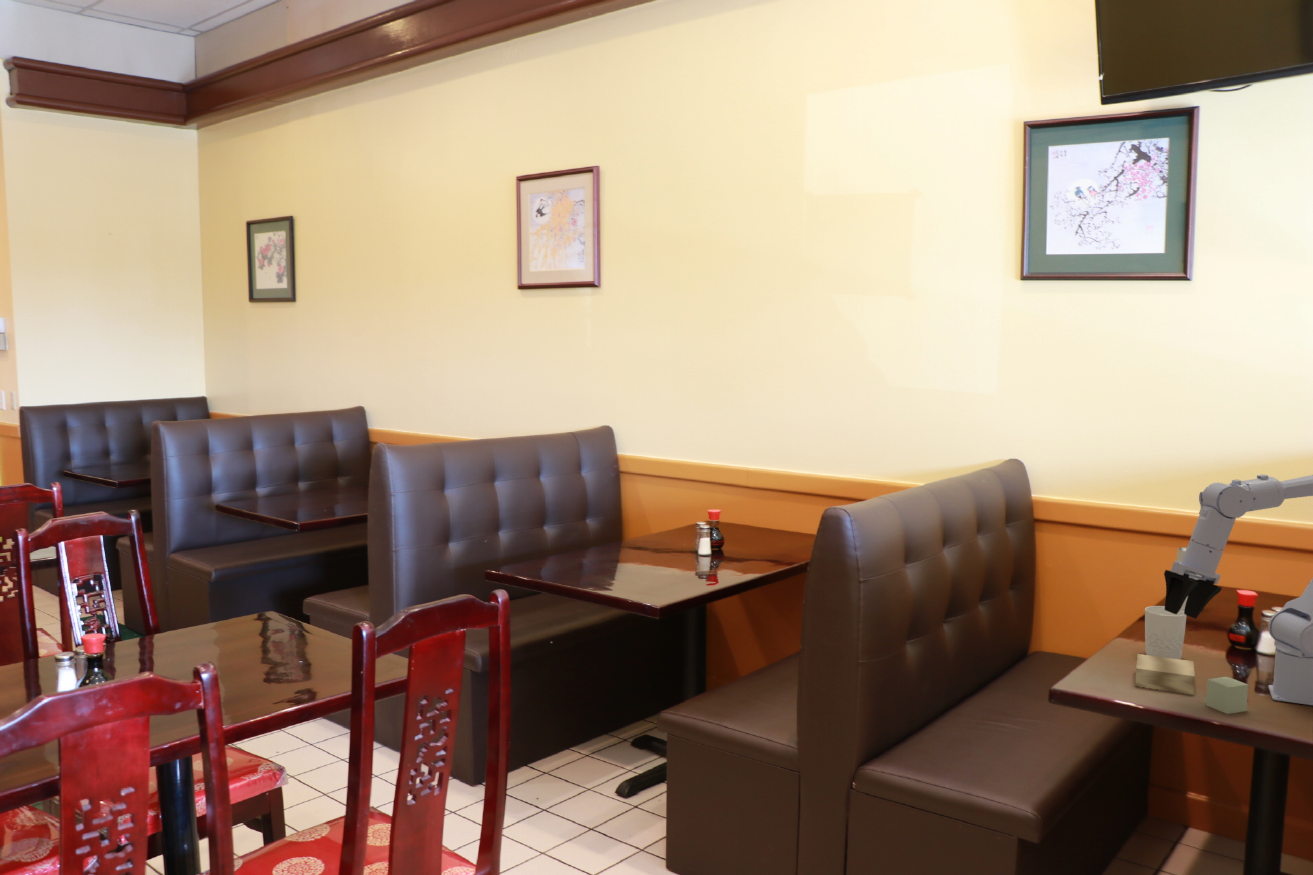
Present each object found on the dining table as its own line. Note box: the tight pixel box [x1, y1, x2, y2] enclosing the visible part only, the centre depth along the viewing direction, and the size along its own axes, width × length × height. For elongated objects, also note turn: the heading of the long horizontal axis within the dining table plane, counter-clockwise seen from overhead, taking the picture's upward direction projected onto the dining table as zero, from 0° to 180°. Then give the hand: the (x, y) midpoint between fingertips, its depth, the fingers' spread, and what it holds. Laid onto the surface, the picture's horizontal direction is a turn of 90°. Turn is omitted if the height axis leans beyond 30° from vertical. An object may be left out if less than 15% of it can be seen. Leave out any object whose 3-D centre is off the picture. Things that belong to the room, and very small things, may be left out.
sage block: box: [1205, 676, 1249, 715], centre depth 181 cm, size 5×5×5 cm
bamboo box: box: [1135, 653, 1196, 696], centre depth 194 cm, size 10×10×4 cm
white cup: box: [1144, 605, 1187, 660], centre depth 210 cm, size 8×8×10 cm
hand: (1180, 614), depth 184 cm, fingers open, 7 cm apart
